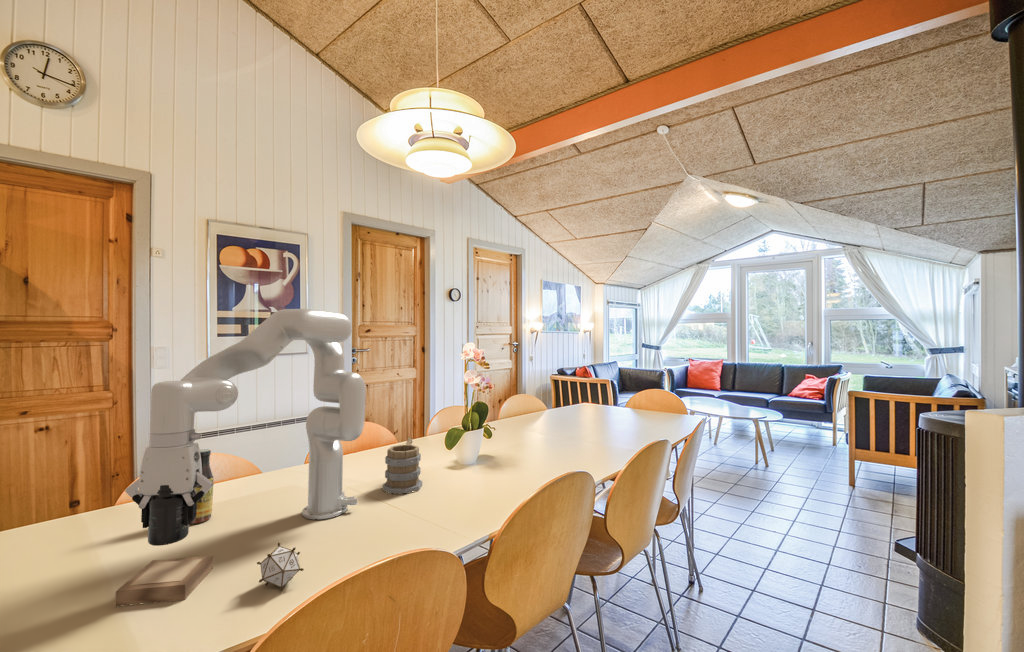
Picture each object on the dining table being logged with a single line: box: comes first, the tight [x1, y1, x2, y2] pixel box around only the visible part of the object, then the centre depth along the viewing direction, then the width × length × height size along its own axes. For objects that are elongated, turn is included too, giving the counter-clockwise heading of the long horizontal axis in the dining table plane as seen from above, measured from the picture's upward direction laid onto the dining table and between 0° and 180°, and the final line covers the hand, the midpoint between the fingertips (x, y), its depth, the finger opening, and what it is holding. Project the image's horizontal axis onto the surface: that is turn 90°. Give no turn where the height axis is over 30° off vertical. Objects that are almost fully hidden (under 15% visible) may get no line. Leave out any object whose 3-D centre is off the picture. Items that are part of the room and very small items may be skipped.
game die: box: [256, 542, 305, 593], centre depth 93 cm, size 9×8×10 cm
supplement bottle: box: [147, 485, 190, 547], centre depth 93 cm, size 7×7×12 cm
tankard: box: [382, 437, 423, 494], centre depth 158 cm, size 20×13×15 cm, turn 179°
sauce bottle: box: [189, 448, 215, 525], centre depth 126 cm, size 6×6×20 cm
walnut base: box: [115, 555, 214, 607], centre depth 93 cm, size 12×12×3 cm
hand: (169, 523), depth 93 cm, fingers closed on supplement bottle, 6 cm apart
